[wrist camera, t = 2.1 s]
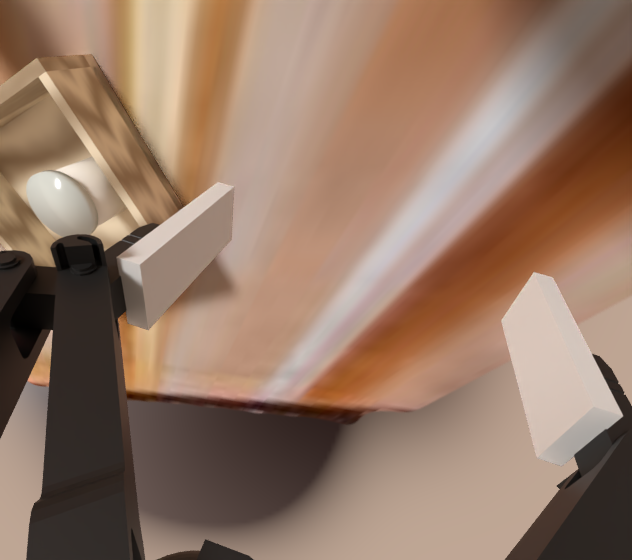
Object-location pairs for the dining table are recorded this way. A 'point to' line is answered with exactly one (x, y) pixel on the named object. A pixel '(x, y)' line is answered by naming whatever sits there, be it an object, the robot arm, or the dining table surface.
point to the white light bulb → (73, 198)
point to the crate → (72, 151)
